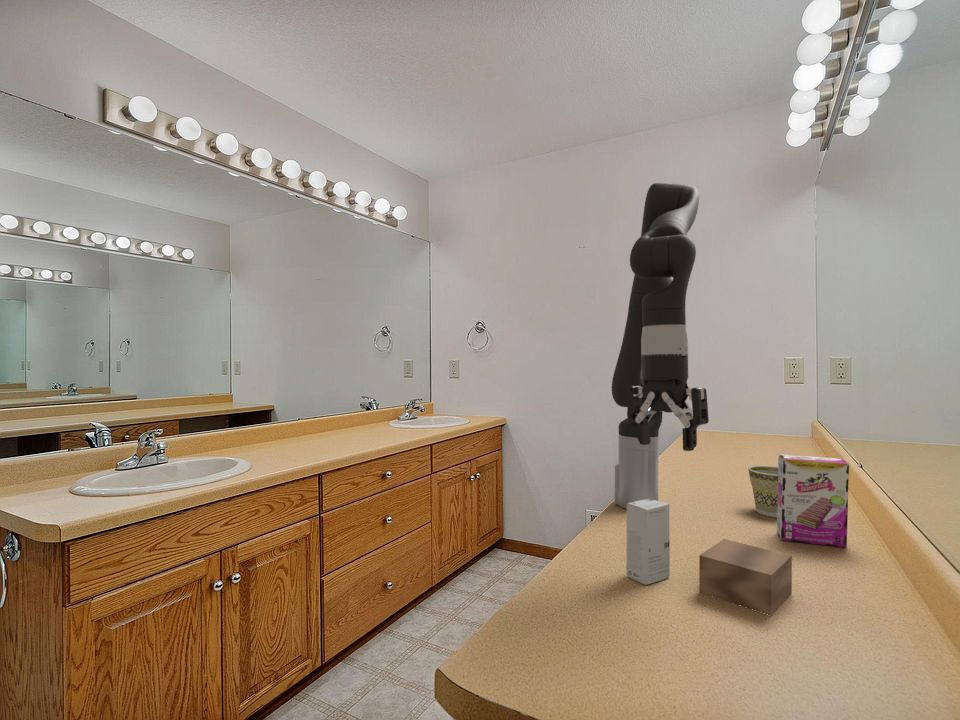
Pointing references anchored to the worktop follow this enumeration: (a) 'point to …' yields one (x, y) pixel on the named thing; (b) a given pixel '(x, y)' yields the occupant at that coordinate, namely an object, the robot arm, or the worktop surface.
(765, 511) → the ceramic cup
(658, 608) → the worktop surface
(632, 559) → the skincare box
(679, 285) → the robot arm
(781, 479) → the candy bar box
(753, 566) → the walnut block
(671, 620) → the worktop surface
